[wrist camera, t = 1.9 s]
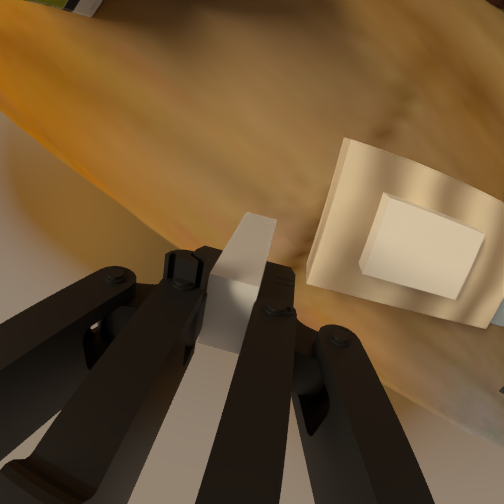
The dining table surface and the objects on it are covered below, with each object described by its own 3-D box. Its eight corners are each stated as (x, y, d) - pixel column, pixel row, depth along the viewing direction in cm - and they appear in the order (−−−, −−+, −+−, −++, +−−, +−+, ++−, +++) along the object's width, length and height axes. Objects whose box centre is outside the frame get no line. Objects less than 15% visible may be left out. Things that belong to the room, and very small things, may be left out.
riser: (515, 209, 23) (536, 221, 19) (471, 308, 28) (486, 329, 24) (343, 137, 24) (350, 139, 21) (306, 263, 29) (306, 283, 26)
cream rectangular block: (474, 226, 21) (485, 234, 19) (447, 288, 24) (455, 299, 22) (383, 191, 22) (390, 197, 20) (358, 262, 24) (362, 273, 22)
